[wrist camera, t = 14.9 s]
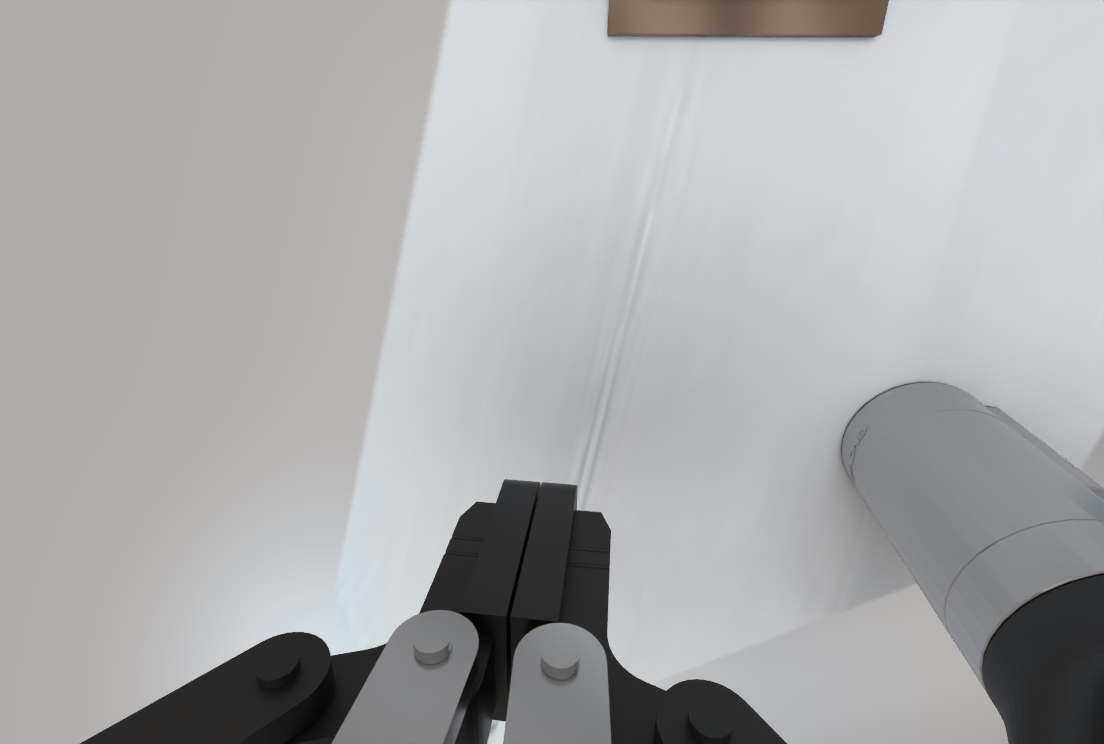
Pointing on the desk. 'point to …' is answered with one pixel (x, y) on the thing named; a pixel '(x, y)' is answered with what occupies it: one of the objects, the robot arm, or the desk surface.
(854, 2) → the cup holder
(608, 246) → the desk surface
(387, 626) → the desk surface
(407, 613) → the desk surface
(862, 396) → the desk surface
